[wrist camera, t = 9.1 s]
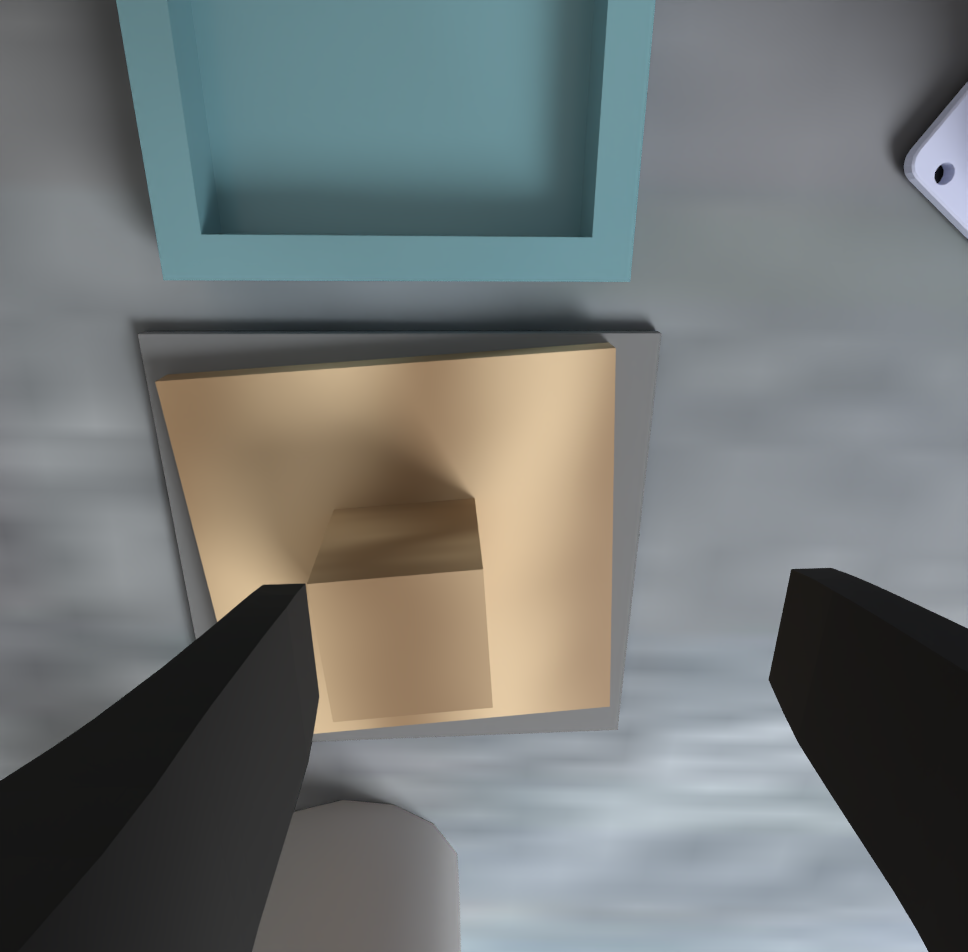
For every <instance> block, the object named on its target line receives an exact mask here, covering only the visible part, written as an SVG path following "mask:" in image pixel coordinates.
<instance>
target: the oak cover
mask: <svg viewBox="0 0 968 952" xmlns="http://www.w3.org/2000/svg"><path fill="white" fill-rule="evenodd" d="M615 364H616V348H615V347H614V346H613V345H611V344H610V343H609V342H607V343H594V344H580V345H566V346H553V347H539V348H525V349H511V350H498V351H484V352H470V353H456V354H443V355H429V356H415V357H402V358H388V359H374V360H360V361H347V362H333V363H319V364H305V365H292V366H278V367H264V368H251V369H237V370H223V371H209V372H196V373H182V374H168V375H166V376H164V377H162V378H161V379H159V380H157V381H155V383H156V387H157V391H158V395H159V398H160V402H161V406H162V410H163V414H164V418H165V422H166V426H167V429H168V433H169V437H170V441H171V445H172V449H173V453H174V456H175V460H176V464H177V468H178V472H179V476H180V480H181V484H182V487H183V491H184V495H185V499H186V503H187V507H188V511H189V515H190V518H191V522H192V526H193V530H194V534H195V538H196V542H197V546H198V549H199V553H200V557H201V561H202V565H203V569H204V573H205V576H206V580H207V584H208V588H209V592H210V596H211V600H212V604H213V607H214V611H215V615H216V619H217V622H218V621H219V620H220V619H221V618H223V617H224V616H225V615H226V614H227V613H229V612H230V611H231V610H232V609H233V608H234V607H236V606H237V605H238V604H239V603H240V602H242V601H243V600H244V599H245V598H246V597H248V596H249V595H250V594H251V593H253V592H254V591H255V590H256V589H258V588H259V587H260V586H262V585H268V584H302V583H305V584H306V592H307V600H308V608H309V616H310V624H311V632H312V640H313V648H314V656H315V664H316V672H317V680H318V688H319V703H318V709H317V715H316V721H315V727H314V733H313V734H317V733H328V732H339V731H350V730H361V729H372V728H382V727H393V726H404V725H415V724H426V723H437V722H448V721H458V720H469V719H480V718H491V717H502V716H513V715H523V714H534V713H545V712H556V711H567V710H578V709H589V708H599V707H610V666H611V605H612V545H613V485H614V424H615Z"/></svg>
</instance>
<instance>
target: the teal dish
mask: <svg viewBox="0 0 968 952" xmlns="http://www.w3.org/2000/svg"><path fill="white" fill-rule="evenodd" d="M116 3H117V9H118V15H119V21H120V27H121V32H122V38H123V44H124V50H125V56H126V62H127V68H128V74H129V79H130V85H131V91H132V97H133V103H134V109H135V115H136V121H137V127H138V132H139V138H140V144H141V150H142V156H143V162H144V168H145V174H146V179H147V185H148V191H149V197H150V203H151V209H152V215H153V221H154V226H155V232H156V238H157V244H158V250H159V256H160V262H161V268H162V273H163V279H164V280H264V281H561V282H630V277H631V266H632V255H633V244H634V233H635V222H636V211H637V199H638V188H639V177H640V166H641V155H642V144H643V133H644V122H645V110H646V99H647V88H648V77H649V66H650V55H651V44H652V33H653V22H654V10H655V0H116Z"/></svg>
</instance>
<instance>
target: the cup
mask: <svg viewBox="0 0 968 952" xmlns="http://www.w3.org/2000/svg"><path fill="white" fill-rule="evenodd" d="M252 952H461V938H460V898H459V875H458V860H457V853H456V852H455V850H454V849H453V848H452V847H451V845H450V844H449V843H448V841H447V840H446V839H445V838H444V836H443V835H442V834H441V833H440V831H439V830H438V829H437V827H436V826H435V825H434V824H432V823H430V822H428V821H426V820H424V819H422V818H420V817H418V816H416V815H414V814H412V813H410V812H407V811H405V810H403V809H401V808H399V807H397V806H395V805H392V804H381V803H371V802H360V801H349V800H340V801H336V802H332V803H328V804H324V805H320V806H316V807H312V808H308V809H304V810H299V811H295V812H294V813H293V815H292V819H291V822H290V825H289V829H288V832H287V835H286V838H285V842H284V845H283V848H282V852H281V855H280V858H279V861H278V865H277V868H276V871H275V875H274V878H273V881H272V884H271V888H270V891H269V894H268V898H267V901H266V904H265V907H264V911H263V914H262V917H261V921H260V924H259V927H258V931H257V935H256V939H255V943H254V946H253V950H252Z"/></svg>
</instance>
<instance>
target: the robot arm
mask: <svg viewBox="0 0 968 952" xmlns="http://www.w3.org/2000/svg"><path fill="white" fill-rule="evenodd" d="M940 165H942V167H943V169H944V173H943V177H942V179H941V181H940V182H939V183H936V181H935V179H934V176H935V171H936V170H937V168H938V167H939V166H940ZM904 173H905V175H906V177H907V178H908V180H909V181H910V182H911V183H912V184H913V185H914V186H915V187H916V188H917V189H918V190H919V191H920V192H921V193H922V194H923V195H924V196H925V197H926V198H927V199H928V200H929V201H930V202H931V203H932V204H933V205H934V206H935V207H936V208H937V209H938V210H939V211H940V212H941V213H942V214H943V215H944V216H945V217H946V218H947V219H948V220H949V221H950V222H951V223H952V224H953V225H954V226H955V227H956V228H957V229H958V230H959V231H960V232H961V233H962V234H963V235H964V236H965V237H966V238H967V239H968V81H967V83H966V84H965V85H964V86H963V87H962V89H961V90H960V91H959V92H958V93H957V95H956V96H955V97H954V98H953V99H952V101H951V102H950V103H949V104H948V105H947V107H946V108H945V109H944V110H943V111H942V112H941V114H940V115H939V116H938V117H937V118H936V120H935V121H934V122H933V123H932V124H931V126H930V127H929V128H928V129H927V130H926V132H925V133H924V134H923V135H922V136H921V138H920V139H919V140H918V141H917V142H916V143H915V145H914V146H913V147H912V148H911V149H910V151H909V153H908V154H907V156H906V158H905V162H904ZM769 681H770V684H771V686H772V688H773V690H774V693H775V695H776V697H777V699H778V702H779V704H780V706H781V708H782V711H783V713H784V715H785V717H786V719H787V721H788V723H789V725H790V727H791V729H792V731H793V733H794V735H795V737H796V739H797V741H798V743H799V745H800V746H801V748H802V749H803V751H804V753H805V754H806V756H807V758H808V759H809V761H810V762H811V764H812V765H813V767H814V769H815V770H816V772H817V773H818V775H819V776H820V778H821V780H822V781H823V783H824V784H825V786H826V788H827V789H828V791H829V792H830V794H831V795H832V797H833V798H834V800H835V801H836V803H837V805H838V806H839V808H840V809H841V811H842V812H843V814H844V815H845V817H846V818H847V820H848V822H849V823H850V825H851V826H852V828H853V829H854V831H855V832H856V834H857V835H858V837H859V838H860V840H861V842H862V843H863V845H864V846H865V848H866V849H867V851H868V852H869V854H870V855H871V857H872V859H873V860H874V862H875V863H876V865H877V866H878V868H879V869H880V871H881V872H882V874H883V876H884V877H885V879H886V880H887V882H888V883H889V885H890V886H891V888H892V889H893V891H894V893H895V894H896V896H897V898H898V899H899V901H900V903H901V904H902V906H903V908H904V909H905V911H906V913H907V914H908V916H909V918H910V919H911V921H912V923H913V924H914V926H915V928H916V929H917V931H918V933H919V935H920V937H921V939H922V940H923V942H924V944H925V946H926V948H927V950H928V952H968V628H965V627H963V626H961V625H959V624H957V623H955V622H953V621H951V620H948V619H946V618H944V617H942V616H940V615H938V614H936V613H934V612H931V611H929V610H927V609H925V608H923V607H921V606H919V605H917V604H914V603H912V602H910V601H908V600H906V599H904V598H902V597H900V596H897V595H895V594H893V593H891V592H889V591H887V590H884V589H882V588H880V587H878V586H875V585H873V584H871V583H869V582H866V581H864V580H862V579H859V578H857V577H854V576H852V575H849V574H847V573H844V572H841V571H838V570H836V569H833V568H814V569H791V573H790V578H789V583H788V588H787V593H786V598H785V603H784V608H783V613H782V617H781V622H780V627H779V632H778V637H777V642H776V647H775V651H774V656H773V661H772V666H771V671H770V676H769ZM318 703H319V688H318V680H317V672H316V664H315V656H314V648H313V640H312V632H311V624H310V616H309V608H308V600H307V592H306V584H305V583H302V584H268V585H262V586H260V587H259V588H258V589H256V590H255V591H254V592H253V593H251V594H250V595H249V596H248V597H246V598H245V599H244V600H243V601H242V602H240V603H239V604H238V605H237V606H236V607H234V608H233V609H232V610H231V611H230V612H229V613H227V614H226V615H225V616H224V617H223V618H221V619H220V620H219V621H218V622H217V623H216V624H214V625H213V626H212V627H211V628H210V629H209V630H207V631H206V632H205V633H204V634H202V635H201V636H200V637H199V638H198V639H196V640H195V641H194V642H193V643H192V644H190V645H189V646H188V647H187V648H185V649H184V650H183V651H182V652H181V653H179V654H178V655H177V656H176V657H175V658H173V659H172V660H171V661H170V662H168V663H167V664H166V665H165V666H164V667H162V668H161V669H160V670H158V671H157V672H156V673H154V674H153V675H152V676H150V677H149V678H148V679H146V680H145V681H144V682H142V683H141V684H140V685H138V686H137V687H136V688H134V689H133V690H132V691H130V692H129V693H128V694H126V695H125V696H124V697H123V698H121V699H120V700H119V701H117V702H116V703H115V704H113V705H112V706H111V707H109V708H108V709H107V710H105V711H104V712H103V713H101V714H100V715H99V716H97V717H96V718H95V719H93V720H92V721H90V722H89V723H87V724H86V725H85V726H83V727H82V728H80V729H79V730H78V731H76V732H75V733H73V734H72V735H70V736H69V737H67V738H66V739H64V740H63V741H61V742H60V743H58V744H57V745H55V746H54V747H52V748H51V749H49V750H48V751H46V752H45V753H43V754H42V755H40V756H38V757H37V758H35V759H34V760H32V761H31V762H29V763H28V764H26V765H24V766H23V767H21V768H20V769H18V770H17V771H15V772H13V773H12V774H10V775H9V776H7V777H6V778H4V779H3V780H1V781H0V952H252V950H253V946H254V943H255V939H256V935H257V931H258V927H259V924H260V921H261V917H262V914H263V911H264V907H265V904H266V901H267V898H268V894H269V891H270V888H271V884H272V881H273V878H274V875H275V871H276V868H277V865H278V861H279V858H280V855H281V852H282V848H283V845H284V842H285V838H286V835H287V832H288V829H289V825H290V822H291V819H292V815H293V812H294V809H295V805H296V802H297V799H298V795H299V792H300V789H301V785H302V782H303V778H304V775H305V772H306V768H307V765H308V761H309V755H310V750H311V744H312V739H313V733H314V727H315V721H316V715H317V709H318Z"/></svg>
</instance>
